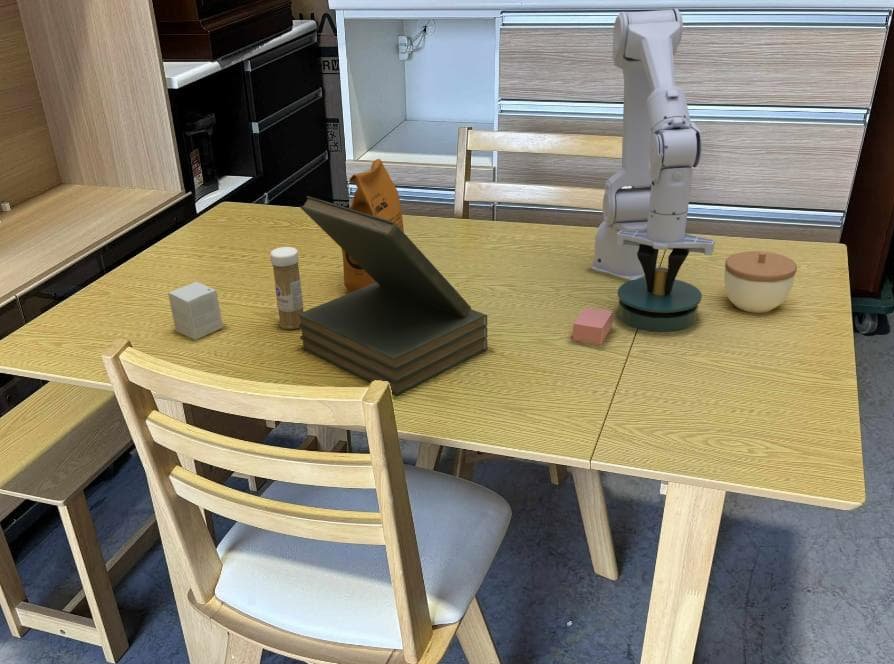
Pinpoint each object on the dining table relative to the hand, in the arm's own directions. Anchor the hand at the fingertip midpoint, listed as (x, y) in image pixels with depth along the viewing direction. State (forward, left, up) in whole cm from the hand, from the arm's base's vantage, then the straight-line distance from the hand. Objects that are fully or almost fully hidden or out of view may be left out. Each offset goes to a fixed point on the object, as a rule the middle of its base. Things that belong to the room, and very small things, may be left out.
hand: (659, 291), depth 140 cm
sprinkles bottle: (-45, -41, -5) cm, 61 cm away
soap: (-4, -12, -5) cm, 14 cm away
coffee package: (-47, -20, -5) cm, 51 cm away
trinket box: (+9, +14, -5) cm, 18 cm away
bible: (-25, -36, -5) cm, 44 cm away
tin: (0, 0, -5) cm, 5 cm away
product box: (-56, -53, -5) cm, 77 cm away
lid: (0, 0, -1) cm, 1 cm away
